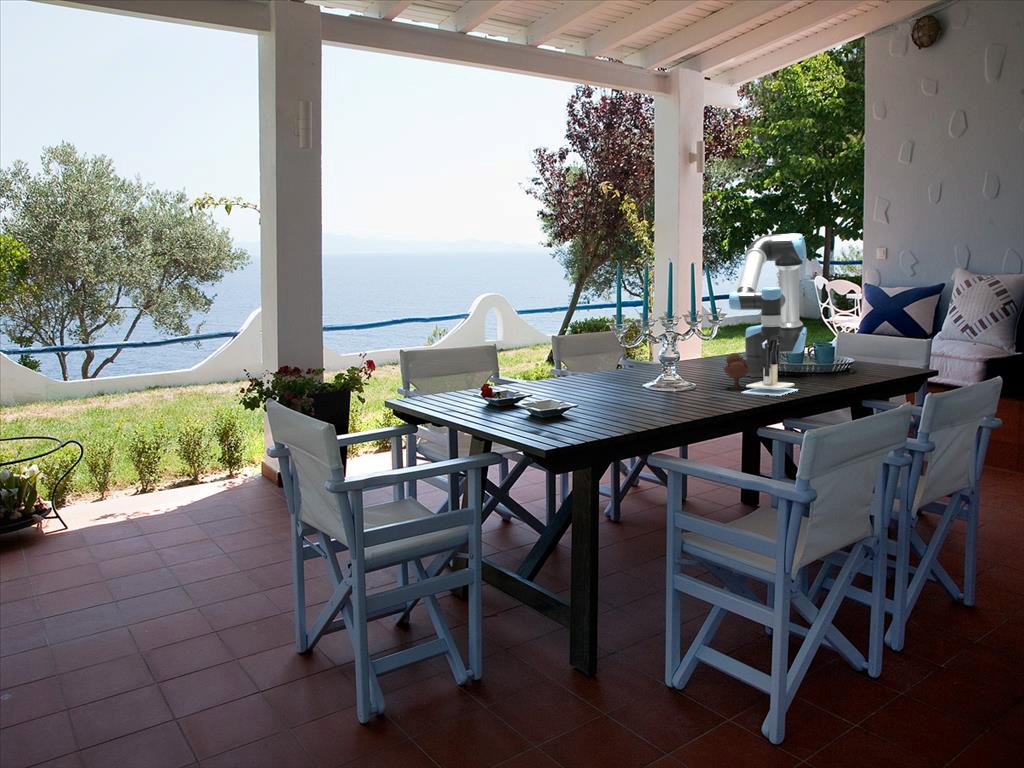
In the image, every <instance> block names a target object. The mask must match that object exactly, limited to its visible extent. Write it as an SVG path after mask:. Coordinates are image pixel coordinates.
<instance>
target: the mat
mask: <svg viewBox="0 0 1024 768" xmlns="http://www.w3.org/2000/svg"><path fill="white" fill-rule="evenodd" d="M798 390H800V389H798V388H789V387H787V388H784V389H780V390H775V389H763V388H751V389H747V390H744V391H741V394H742V393H743V394H744V395H755V396H765V395H769V396H768V397H776V396H780V397H782V395H783V396H786V395H789V394H788V393H790V394H793V393H796V392H799V391H798ZM795 391H796V392H795ZM792 392H793V393H792ZM785 394H786V395H785Z"/></svg>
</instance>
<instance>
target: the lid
mask: <svg viewBox="0 0 1024 768" xmlns="http://www.w3.org/2000/svg"><path fill="white" fill-rule="evenodd" d="M777 365H778V364H771V366H770V368H771V385H768V384H764V378H763V380H760V381H757V382H756V381H755V382H753V383H749V384H746V385H745V388H751V389H755V388H763V389H775V390H780V389H784V388H790V387H794V386H795V383H793V382H791V383H790V382H781V381H778V367H777Z"/></svg>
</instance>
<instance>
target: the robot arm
mask: <svg viewBox="0 0 1024 768" xmlns="http://www.w3.org/2000/svg"><path fill="white" fill-rule="evenodd" d="M806 245H807V244H806V242H805V238H804V236H803V235H802V234H801V233H792V232H791V233H789V232H788V233H776V234H765V235H762V236H760V237H757V238H756V239H755V240H753V242H751V243H750V244H749V246H748V247H747V249H746V251H745V252H744V257H743V259H744V265H743V268H742V272H741V274H740V275H741V276H740V279H739V283H738V286H737V289H736V291H732V292H730V293H729V297H728V306H729V309H731V310H735V311H738V310H739V311H751V310H753V311H755V310H760V311H761V317H760V320H761V324H759V325H754V326H749V327H747V328H746V329H745V337H744V339H745V343H744V344H745V358H744V359H745V360H746V365H748V366H750V369H749V371H748V373H747V374H746V375H745V376H744V377H748V376H750V378H751V377H752V378H763V379H764V384H768V385H771V368H770V366H771V364H778V365H777V368H779V367H780V362H781V361H780V358H781V355H780V354H793V355H794V354H801V353H802V352H804V348H805V345H806V339H807V331H808V330H807V327H805V326H804V323H803V322H802V321H801V320H800V267H801V266H802V265H803V262H804V261H805V260H806V259H807V246H806ZM767 262H774V265H775V267H776V268H777V269H778V287H777V286H769V287H768V286H767V287H762V288H761V291H757V287H758V283H759V279H760V276H761V273H762V268H763V266H764V265H765V264H766V263H767Z"/></svg>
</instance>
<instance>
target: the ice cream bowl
mask: <svg viewBox="0 0 1024 768" xmlns="http://www.w3.org/2000/svg"><path fill="white" fill-rule="evenodd" d="M725 361H726V365H723V366H722V367H723V368H722V369H723V371H724V373H725V375H726V376H728V377H729V378H730V379H733V382H734V384H733V385H731V386H730V388H729V389H730V390H734V389H740V390H743V389H744V387H743V386H741V385H740V384H739V383H740V379H742V378H744V377H746V376H745V375H746V374H747V373H748V371H749V369H750V366H748V365H746V360H745V358H743V357H742V356H741V355H740V354H738V353H736V352H735V353H734V352H732V353H730V354H728V355H727V357H726V359H725Z"/></svg>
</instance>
